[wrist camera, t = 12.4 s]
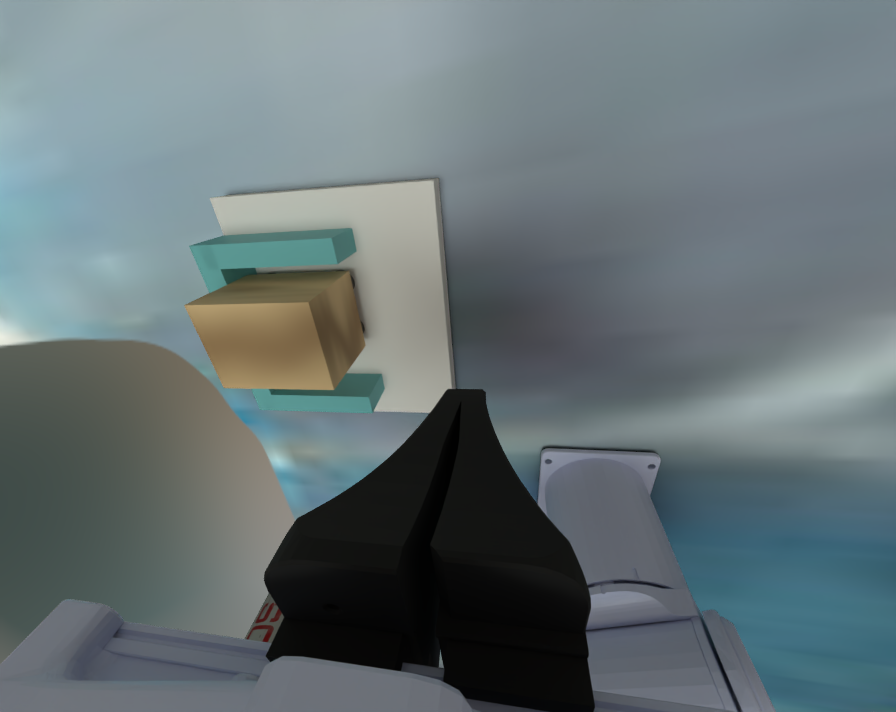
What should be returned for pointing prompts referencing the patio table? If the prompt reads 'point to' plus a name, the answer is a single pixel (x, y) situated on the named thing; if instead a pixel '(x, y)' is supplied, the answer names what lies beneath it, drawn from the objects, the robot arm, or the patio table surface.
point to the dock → (375, 275)
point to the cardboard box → (281, 330)
